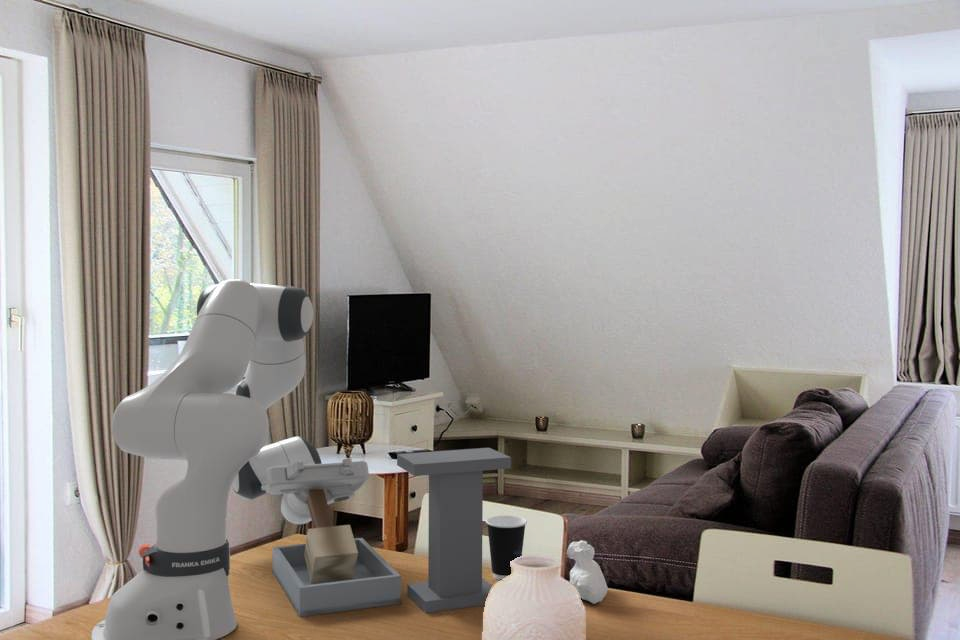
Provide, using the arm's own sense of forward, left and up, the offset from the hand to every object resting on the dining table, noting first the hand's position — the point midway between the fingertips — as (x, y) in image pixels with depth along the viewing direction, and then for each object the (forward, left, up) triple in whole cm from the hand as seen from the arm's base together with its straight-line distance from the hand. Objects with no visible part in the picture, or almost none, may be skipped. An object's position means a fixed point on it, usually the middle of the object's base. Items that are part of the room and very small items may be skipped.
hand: (324, 463), depth 182 cm
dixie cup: (+33, -13, -22) cm, 42 cm away
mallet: (0, +1, -16) cm, 16 cm away
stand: (+19, -21, -22) cm, 36 cm away
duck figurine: (+42, -29, -22) cm, 55 cm away
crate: (0, -7, -22) cm, 23 cm away
